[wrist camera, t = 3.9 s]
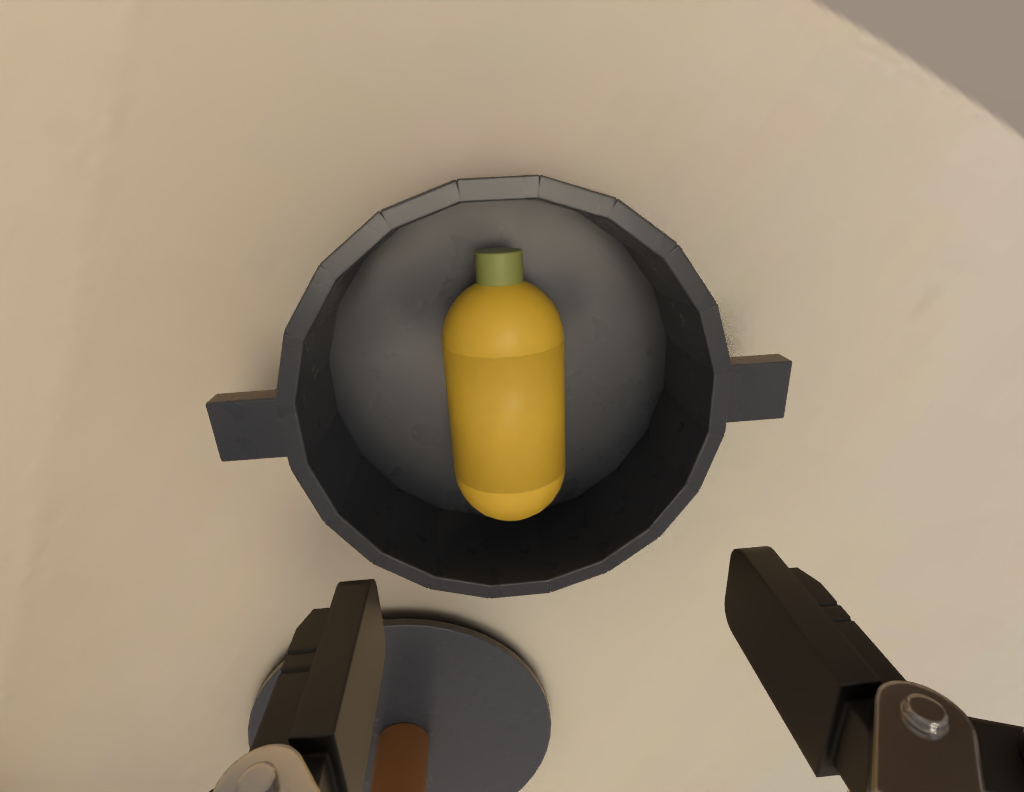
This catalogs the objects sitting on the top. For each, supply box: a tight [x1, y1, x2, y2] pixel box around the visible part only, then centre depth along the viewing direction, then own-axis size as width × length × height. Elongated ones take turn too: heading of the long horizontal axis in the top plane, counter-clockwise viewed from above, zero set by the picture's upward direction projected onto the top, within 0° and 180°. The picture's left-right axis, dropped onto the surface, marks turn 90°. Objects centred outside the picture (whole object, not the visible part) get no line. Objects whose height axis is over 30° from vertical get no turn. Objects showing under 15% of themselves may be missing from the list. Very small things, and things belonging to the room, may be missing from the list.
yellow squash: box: [442, 247, 566, 521], centre depth 22 cm, size 11×5×5 cm, turn 3°
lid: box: [248, 618, 551, 792], centre depth 29 cm, size 17×17×7 cm
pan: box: [206, 175, 792, 598], centre depth 22 cm, size 16×22×6 cm
